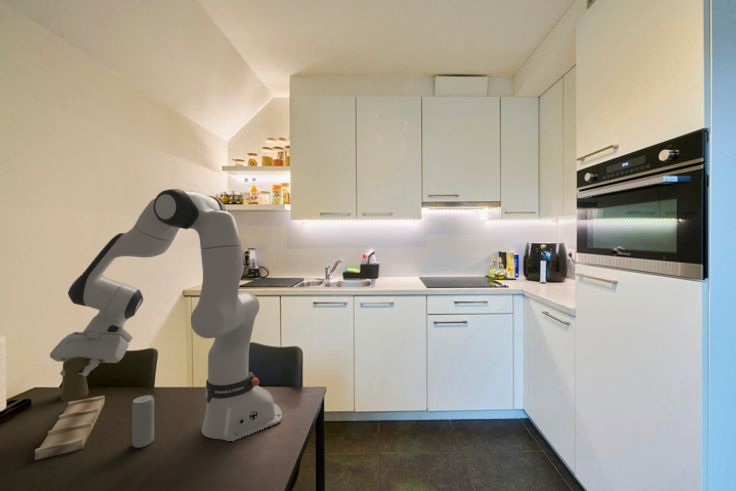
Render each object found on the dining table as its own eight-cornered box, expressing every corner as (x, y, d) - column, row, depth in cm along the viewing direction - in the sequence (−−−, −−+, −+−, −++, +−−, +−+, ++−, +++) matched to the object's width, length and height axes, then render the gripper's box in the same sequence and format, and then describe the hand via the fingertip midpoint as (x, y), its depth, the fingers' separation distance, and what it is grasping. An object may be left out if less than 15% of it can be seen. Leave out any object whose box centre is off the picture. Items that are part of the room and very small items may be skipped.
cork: (72, 401, 91) (72, 363, 91) (55, 399, 92) (54, 361, 92) (94, 392, 97) (94, 355, 96) (77, 390, 98) (77, 354, 98)
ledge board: (104, 402, 108) (104, 395, 108) (82, 448, 84) (82, 439, 84) (68, 409, 104) (69, 402, 104) (35, 460, 80) (35, 450, 80)
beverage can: (134, 440, 88) (135, 396, 88) (155, 436, 90) (155, 393, 90) (129, 450, 84) (130, 404, 84) (151, 446, 86) (152, 401, 85)
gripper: (63, 326, 101) (30, 370, 91) (127, 328, 101) (100, 371, 91) (76, 336, 106) (46, 379, 96) (137, 338, 105) (113, 380, 95)
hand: (72, 375), depth 93 cm, fingers closed on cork, 4 cm apart
